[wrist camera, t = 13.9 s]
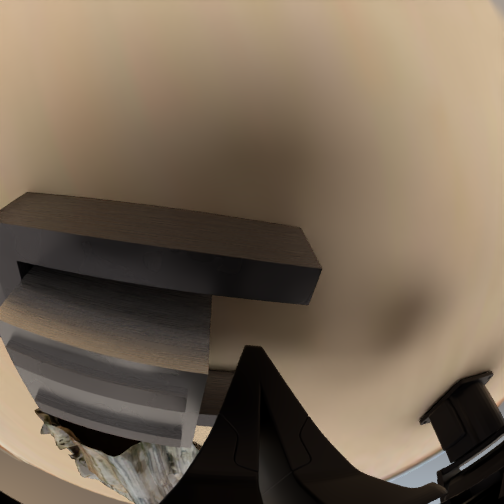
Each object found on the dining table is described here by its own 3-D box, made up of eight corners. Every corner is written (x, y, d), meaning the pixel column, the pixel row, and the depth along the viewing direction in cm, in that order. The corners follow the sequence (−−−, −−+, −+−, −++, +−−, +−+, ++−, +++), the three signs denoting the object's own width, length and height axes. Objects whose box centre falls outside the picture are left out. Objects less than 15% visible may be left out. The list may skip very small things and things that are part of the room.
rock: (201, 379, 18) (15, 361, 15) (214, 464, 12) (-17, 427, 8) (204, 492, 26) (92, 485, 22) (212, 536, 20) (90, 527, 16)
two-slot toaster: (213, 268, 10) (207, 385, 6) (195, 359, 12) (190, 455, 8) (59, 238, 9) (-13, 324, 5) (73, 332, 11) (38, 415, 7)
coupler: (301, 227, 9) (322, 268, 7) (248, 386, 14) (252, 428, 11) (-67, 186, 6) (-98, 206, 4) (-29, 321, 11) (-46, 347, 8)
